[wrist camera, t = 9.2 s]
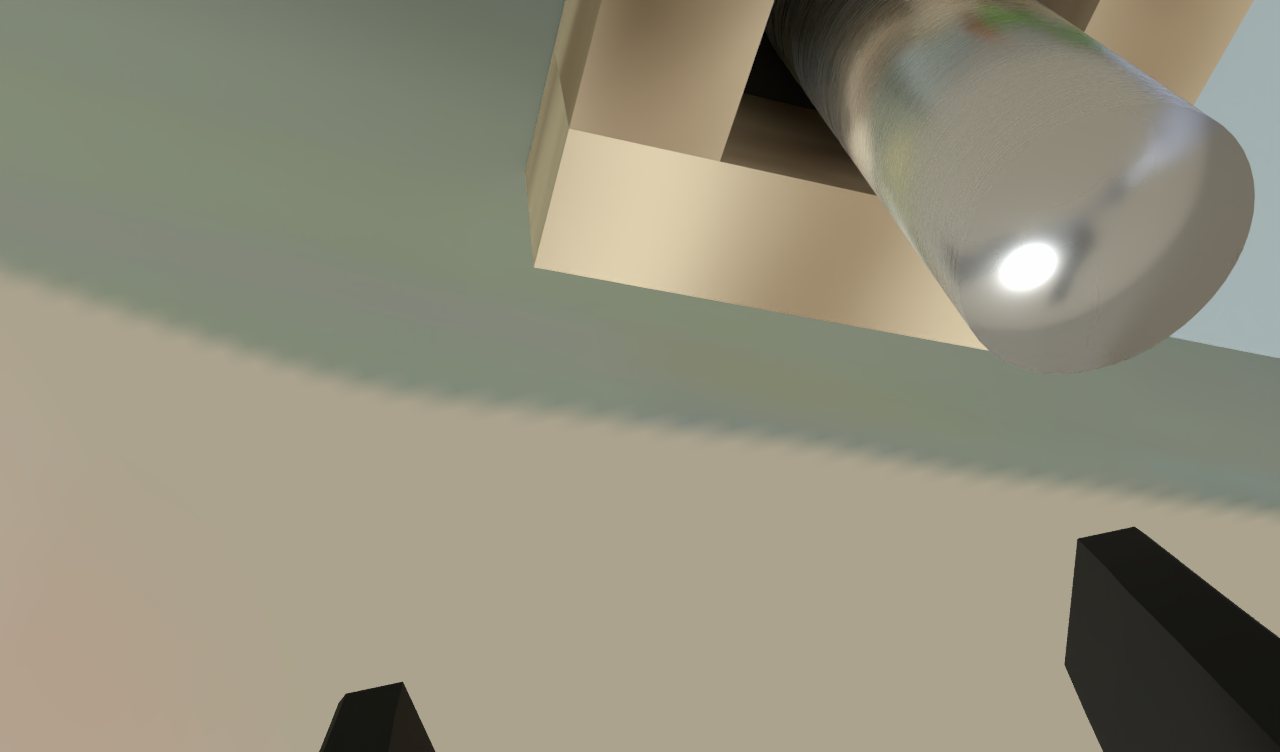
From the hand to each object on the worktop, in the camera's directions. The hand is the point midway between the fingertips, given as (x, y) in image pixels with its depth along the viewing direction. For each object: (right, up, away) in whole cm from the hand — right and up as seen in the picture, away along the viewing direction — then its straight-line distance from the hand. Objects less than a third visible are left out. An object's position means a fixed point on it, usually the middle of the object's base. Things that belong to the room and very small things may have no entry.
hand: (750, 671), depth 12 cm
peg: (+2, +10, +6) cm, 12 cm away
